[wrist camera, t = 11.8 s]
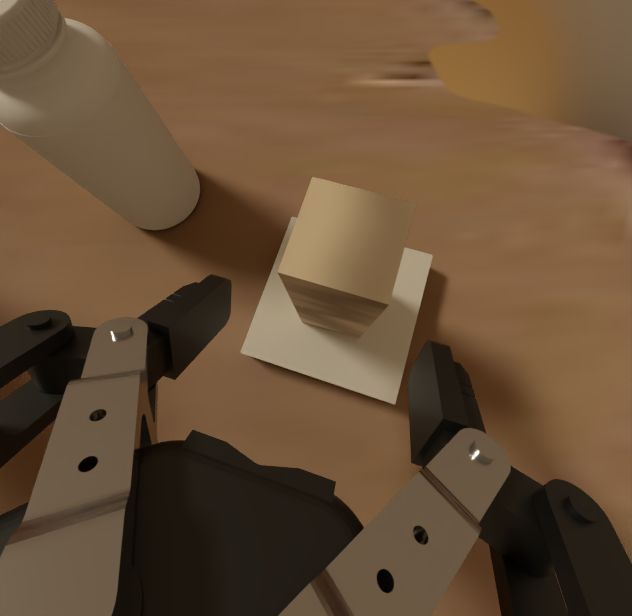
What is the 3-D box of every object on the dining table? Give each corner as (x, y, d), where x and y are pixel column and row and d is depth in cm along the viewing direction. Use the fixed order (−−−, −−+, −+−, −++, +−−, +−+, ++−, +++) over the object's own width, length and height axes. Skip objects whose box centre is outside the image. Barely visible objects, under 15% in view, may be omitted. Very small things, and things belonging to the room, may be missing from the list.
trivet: (247, 354, 23) (240, 352, 22) (294, 228, 26) (291, 216, 24) (389, 402, 22) (395, 404, 20) (424, 264, 25) (432, 255, 23)
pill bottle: (160, 146, 29) (-14, -90, 14) (219, 186, 27) (95, -30, 13) (104, 204, 27) (-152, 9, 13) (163, 248, 26) (-46, 88, 11)
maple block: (301, 322, 22) (277, 272, 11) (319, 269, 23) (312, 176, 12) (358, 339, 21) (389, 304, 11) (373, 285, 22) (416, 203, 12)
